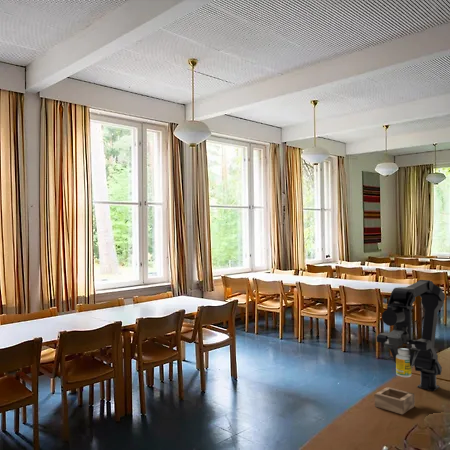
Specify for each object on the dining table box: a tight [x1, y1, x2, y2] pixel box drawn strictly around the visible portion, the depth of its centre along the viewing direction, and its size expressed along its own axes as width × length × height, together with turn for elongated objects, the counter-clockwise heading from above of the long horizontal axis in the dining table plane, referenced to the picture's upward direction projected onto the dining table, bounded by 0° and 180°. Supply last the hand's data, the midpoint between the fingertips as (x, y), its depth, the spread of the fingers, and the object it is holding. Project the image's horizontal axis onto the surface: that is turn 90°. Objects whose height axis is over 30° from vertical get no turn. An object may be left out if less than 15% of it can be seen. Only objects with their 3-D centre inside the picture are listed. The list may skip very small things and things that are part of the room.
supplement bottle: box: [395, 347, 413, 378], centre depth 166 cm, size 5×5×10 cm
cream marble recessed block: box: [374, 386, 415, 415], centre depth 160 cm, size 10×10×4 cm
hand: (403, 364), depth 166 cm, fingers closed on supplement bottle, 5 cm apart
